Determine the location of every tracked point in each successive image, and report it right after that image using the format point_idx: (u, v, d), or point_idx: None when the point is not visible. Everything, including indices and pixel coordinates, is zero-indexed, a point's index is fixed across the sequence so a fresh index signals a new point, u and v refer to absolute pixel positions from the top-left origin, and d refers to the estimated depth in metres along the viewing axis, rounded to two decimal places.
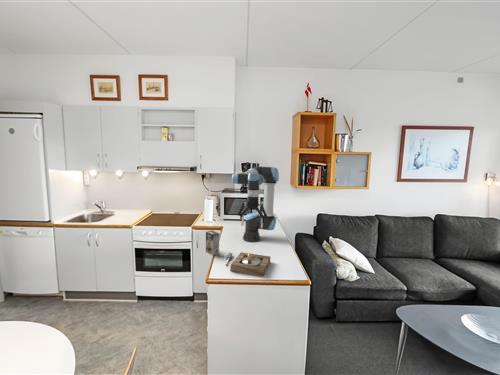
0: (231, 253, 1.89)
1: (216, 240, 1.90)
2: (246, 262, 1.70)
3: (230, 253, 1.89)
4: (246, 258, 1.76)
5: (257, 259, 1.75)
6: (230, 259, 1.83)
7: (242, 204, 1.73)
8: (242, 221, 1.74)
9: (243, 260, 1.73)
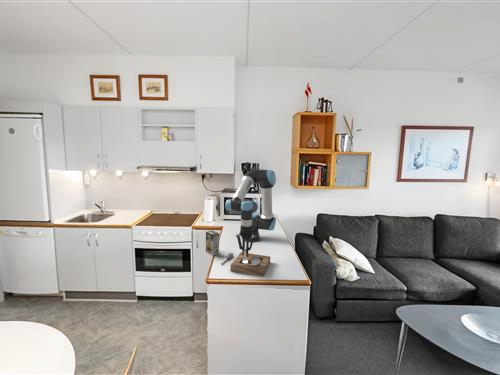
0: (231, 253, 1.89)
1: (216, 240, 1.90)
2: (246, 262, 1.70)
3: (231, 253, 1.89)
4: (246, 258, 1.76)
5: (257, 259, 1.75)
6: (228, 259, 1.83)
7: None
8: (244, 255, 1.68)
9: (243, 260, 1.73)
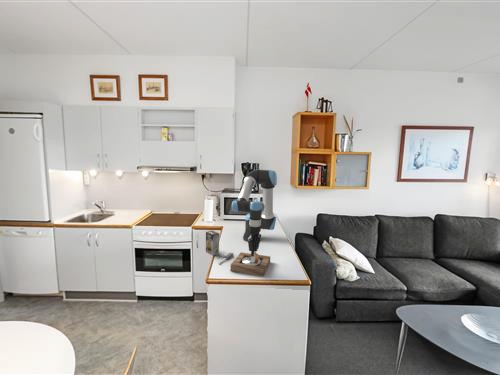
0: (232, 253, 1.89)
1: (216, 240, 1.90)
2: (253, 263, 1.69)
3: (231, 253, 1.89)
4: (245, 261, 1.72)
5: None
6: (227, 259, 1.83)
7: (250, 240, 1.61)
8: (255, 256, 1.66)
9: (247, 263, 1.69)
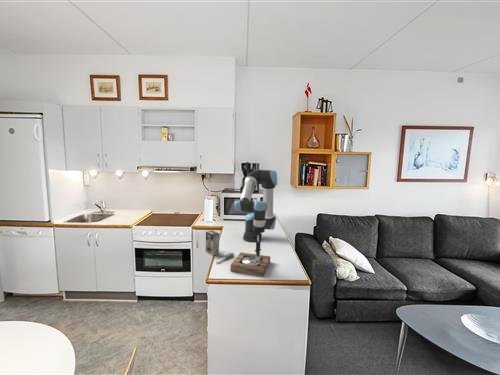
0: (232, 253, 1.89)
1: (216, 240, 1.90)
2: (257, 262, 1.71)
3: (231, 253, 1.89)
4: (247, 262, 1.70)
5: (247, 257, 1.77)
6: None
7: (259, 241, 1.60)
8: (259, 255, 1.67)
9: (253, 263, 1.68)
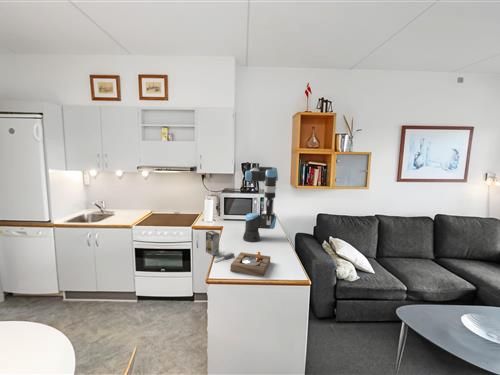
0: (232, 253, 1.89)
1: (216, 240, 1.90)
2: (257, 262, 1.71)
3: (231, 253, 1.89)
4: (247, 262, 1.70)
5: (247, 257, 1.77)
6: (226, 258, 1.84)
7: (269, 205, 1.74)
8: (270, 220, 1.81)
9: (253, 263, 1.68)
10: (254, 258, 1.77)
